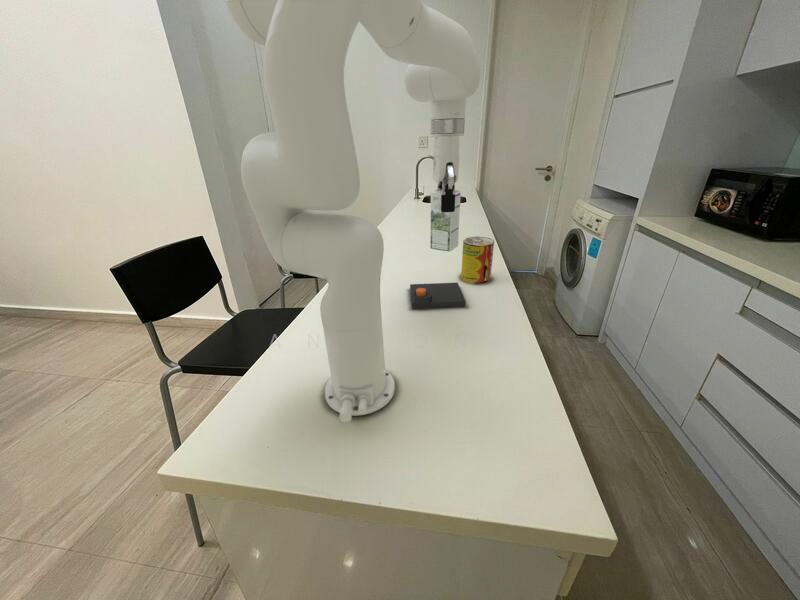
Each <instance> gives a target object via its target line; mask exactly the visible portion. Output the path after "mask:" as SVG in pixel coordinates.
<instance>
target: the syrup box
mask: <svg viewBox="0 0 800 600" xmlns="http://www.w3.org/2000/svg"><path fill="white" fill-rule="evenodd" d="M437 189H438V188H437ZM437 189H435V190H433V191H431V192H430V247H429V248H430V250H437V251H443V252H451V251H453V250H455V249H456V248H458V247H459V235H460V234H459V233H460V232H459V231H460V213H461V197H462V195H461V191H462V190H460V189H455V211H454V212H441V195H443V191H442V189H438V190H437Z"/></svg>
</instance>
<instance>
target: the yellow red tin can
mask: <svg viewBox="0 0 800 600" xmlns="http://www.w3.org/2000/svg"><path fill="white" fill-rule="evenodd" d="M494 246H495V240H494V239H493V238H490V237H487V236H469V237H466V238H464V239H463V240H462V256H461V257H462V258H461V276H460V277H461V280H462V281H464V282H466V283H469V284H475V285H477V284H478V285H480V284H486V283H488V282H490V281H491V279H492V278H491V277H492V269H493V268H492V266H493V258H494V257H493V256H494Z"/></svg>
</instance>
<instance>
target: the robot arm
mask: <svg viewBox="0 0 800 600" xmlns="http://www.w3.org/2000/svg"><path fill="white" fill-rule="evenodd" d="M224 1H225V2H224V3H225V5H226V8H227V10H228V12H229V14H230V16H231V17H232V20H233V21H234V23H235V24H236V26H237V27H238V28H239V30H241V32H242V33H243V34H244V35H246V37H247V38H249V39H250V40H251V41H253V42H255V43H257V44H259V45H262V46H264V52H263V53H264V54H263V62H262V73H263V74H262V75H263V83H264V90H265V94H266V98H267V101H268V105H269V109H270V113H271V117H272V121H273V124H274V128H275V131H269V132H264V133H260V134H258V135H256V136H254V137H253V138H251V139H250V140H248V142H247V144H246V145H245V147H244V149H243V152H242V155H241V158H240V159H241V160H240V161H241V162H240V177H241V182H242V186H243V189H244V192H245V194H246V198H247V200H248V203H249V206H250V208H251V210H252V213H253V215H254V217H255V220H256V222H257V225H258V227H259V230H260V232H261V234H262V237H263V239H264V243H265V244H266V246H267V250H268V251H269V253H270V256H272V258H273V259H274V261H275V262H276V263H277V264H278V265H279V267H281V268H283V269H284V270H286V271H289V272H292V273H297V274H300V275H307V276H311V277H316V278H318V279H324V280H325V281H327V284H328V286H327V289H326V291H325V293H323V296H322V298H321V301H320V306H319V307H320V308H319V312H320V318H321V323H322V324H321V325H322V330H323V336H324V341H325V347H326V354H327V360H328V366H329V367H328V368H329V372H330V378H329V379H328V380H327V381H326V384H325V386H324V398H325V401H326V403H327V405H328V406H329V407H330V408H331V409H332V410H333V411H335V412H337V413H339V416H338V420H339V421H340V422H342V423H345V424H347V423H350V422H351V420H352V417H353V416H355V417H356V416H365V415H369V414H372V413H374V412H378V411H379V410H381V409H383V408H384V407H385V406H386V405H387V404H389V403H390V401H391V400H392V398H393V397H394V394H395V391H396V384H395V378H394V376H393V375H392V374H391V373H390V372H389V370H388V369H386V362H385V349H384V334H383V320H382V318H383V317H382V305H381V275H382V266H383V260H384V250H385V245H384V244H385V243H384V239H383V235H382V233H381V231H380V229H379V227H377V226H376V224H374V223H373V222H371V221H370V220H367V219H366V218H363V217H359V216H356V215H351V214H350V215H349V214H338V213H328V212H329V211H339V210H343V209H347V208H349V207H350V206H352V205H353V204H354V203H355V202H356V200H357V199H358V197H359V195H360V191H361V178H360V177H361V176H360V169H359V163H358V156H357V152H356V147H355V146H356V145H355V141H354V137H353V136H354V135H353V130H352V125H351V120H350V114H349V110H348V103H347V97H346V90H345V66H346V58H347V53H348V51H349V47H350V44H351V41H352V38H353V35H354V33H355V32H356V28H357V26H358V25H359V23H360V24H361V26H362V27H363V28H364V29H365V30H366V32H367V33H368V34H369V35H370V37H371V38H372V39H373V41H374V42H375V43H376V44H377V46H378V47H379V48H380V50H381V51H382V52H383V53H384V54H385V55H386V56H387V57H389V58H390V59H392V60H395V61H397V62H401V63H404V64H407V65H408V66H407V68H406V69H405V73H404V87H405V90H406V92H407V94H408V96H409V97H411V98H412V99H413V100H414V101H416V102H420V103H429V102H430V137H431V138H433V137H434V144H433V163H432V166H433V167H432V179H433V181H434V182H435V183H436V184H437V188H436V190H438V189H442V191H443V195H441V212H454V211H455V190H456V184H455V183H457V182H458V181H459V180H458V179H459V168H460V167H459V166H460V163H459V162H460V137H463V136H465V123H466V121H465V120H466V103H467V102H466V101H467V99H469V98H470V97H472V96H473V95H474V94H475V93H476V92H477V89H478V88H479V85H480V82H481V65H480V64H481V63H480V60H479V56H478V52H477V50H476V47H475V44H474V42H473V39H472V37H471V35H470V33H469V32H468V31H467V29H466V28H465V27H464V26H463V25H461V24H460V23H459V22H457V21H456V20H454V19H452V18H450V17H449V16H447V15H445V14H443V13H442V12H440V11H438V10H437V9H434V8H433V7H430V6H427V5H426V4H425V3H424V1H423V0H224ZM311 211H328V212H324V213H323V212H311Z"/></svg>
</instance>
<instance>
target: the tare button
mask: <svg viewBox="0 0 800 600" xmlns="http://www.w3.org/2000/svg"><path fill="white" fill-rule="evenodd" d="M416 296H419V297H423V296H426V289H425V288H418V289H416Z"/></svg>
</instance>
